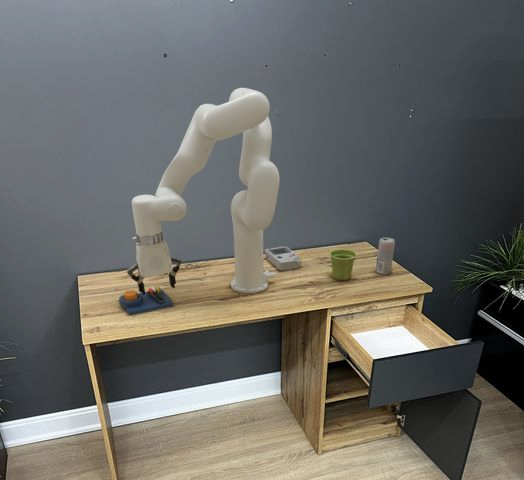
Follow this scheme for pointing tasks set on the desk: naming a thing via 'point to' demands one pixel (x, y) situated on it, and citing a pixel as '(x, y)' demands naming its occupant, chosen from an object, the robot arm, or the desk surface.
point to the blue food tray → (145, 303)
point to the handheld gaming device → (283, 258)
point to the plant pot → (342, 263)
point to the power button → (130, 295)
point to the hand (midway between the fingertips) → (158, 289)
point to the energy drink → (385, 256)
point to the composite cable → (155, 294)
